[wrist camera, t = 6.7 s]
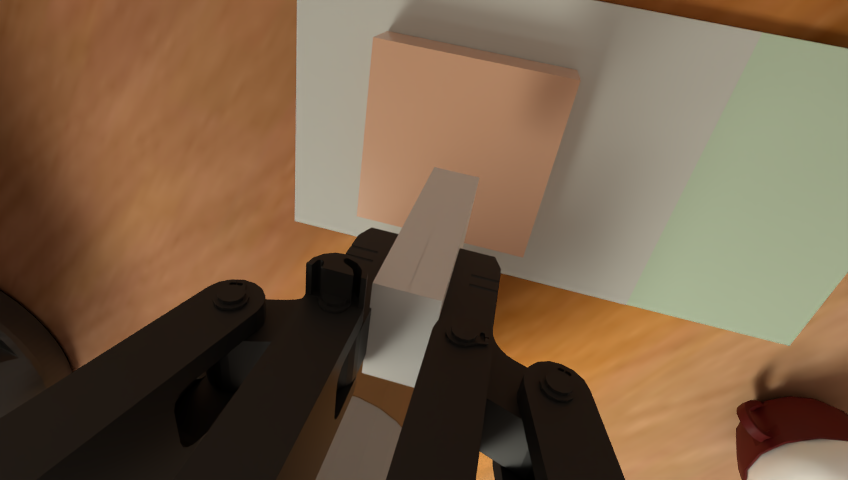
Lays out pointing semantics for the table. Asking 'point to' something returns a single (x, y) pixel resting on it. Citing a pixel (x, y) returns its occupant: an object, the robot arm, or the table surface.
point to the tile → (462, 132)
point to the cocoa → (791, 440)
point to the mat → (626, 152)
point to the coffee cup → (367, 431)
